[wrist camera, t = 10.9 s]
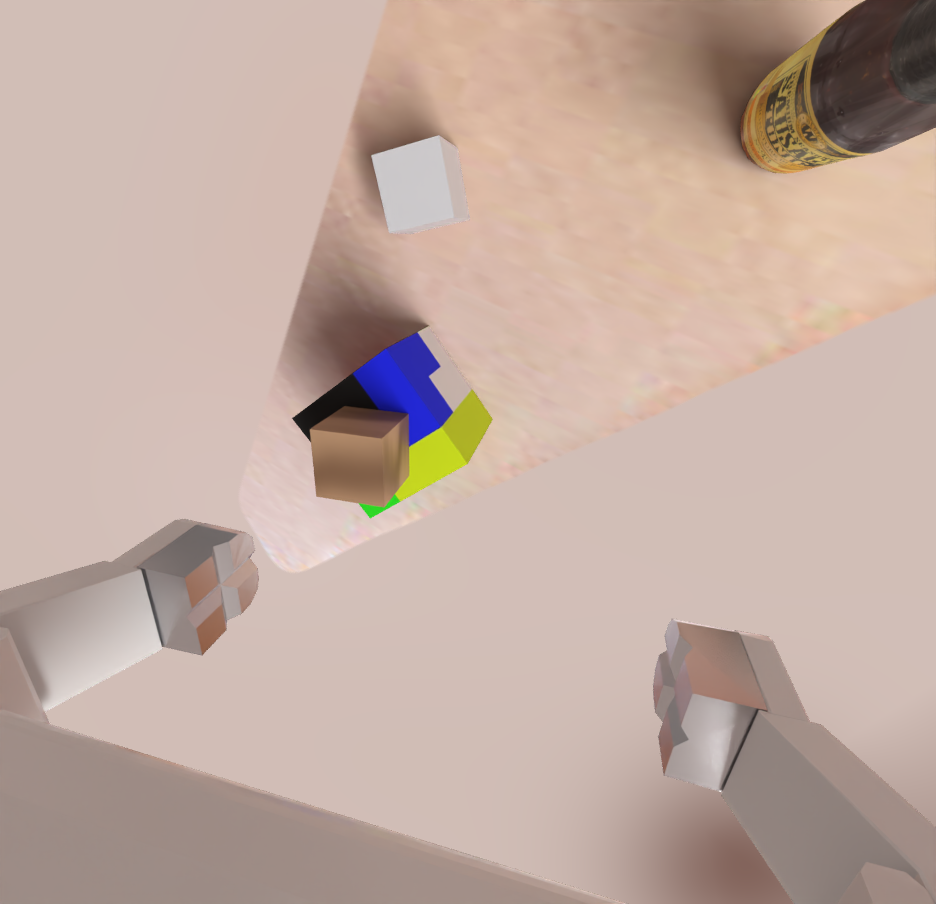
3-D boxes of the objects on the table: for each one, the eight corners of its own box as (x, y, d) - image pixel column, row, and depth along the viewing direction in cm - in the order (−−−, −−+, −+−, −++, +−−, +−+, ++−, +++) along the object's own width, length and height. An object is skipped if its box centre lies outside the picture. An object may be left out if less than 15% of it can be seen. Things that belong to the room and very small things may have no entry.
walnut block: (344, 405, 36) (309, 429, 32) (408, 413, 35) (381, 438, 31) (348, 466, 38) (316, 496, 34) (409, 475, 37) (384, 507, 33)
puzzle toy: (429, 325, 42) (386, 348, 33) (492, 419, 44) (467, 463, 36) (349, 384, 46) (292, 418, 38) (411, 467, 48) (370, 518, 40)
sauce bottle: (716, 121, 32) (864, -23, 15) (812, 35, 30) (1136, -267, 12) (770, 202, 33) (971, 159, 16) (868, 126, 31) (1243, -28, 13)
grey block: (397, 165, 38) (371, 155, 34) (457, 148, 37) (438, 135, 32) (412, 233, 40) (389, 233, 35) (470, 220, 38) (454, 217, 34)
